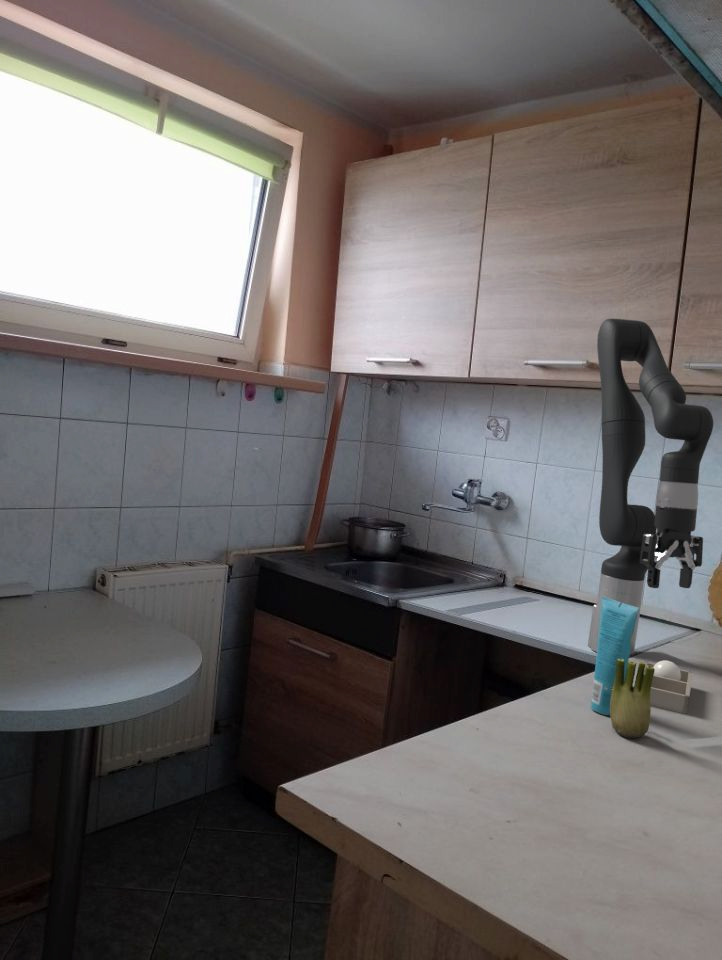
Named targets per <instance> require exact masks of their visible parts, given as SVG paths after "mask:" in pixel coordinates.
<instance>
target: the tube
mask: <svg viewBox="0 0 722 960" xmlns="http://www.w3.org/2000/svg"><path fill="white" fill-rule="evenodd" d="M638 610H639V608H638V607H634V606H630V605H627V604H624V603H621V602H618V601H615V600H612V599H609V598H606V597H602V606H601V619H600V629H599V639H598V649H597V652H596V658H595V659H596V660H595V665H594V666H595V668H594V678H593V685H592V694H591V702H590V708H591V710H593V711H594V712H596V713H598V714H601V715H604V716H610V700H611V694H612V689H613V685H614V679H615V671H616V661H617V659H624V660H625V665H624V666H625V667H624V681H625V675H626V670H627V664H628V661H630V655H631V654H630V649H631V643H632V638H633V633H634V628H635V623H636V619H637V615H638Z"/></svg>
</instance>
